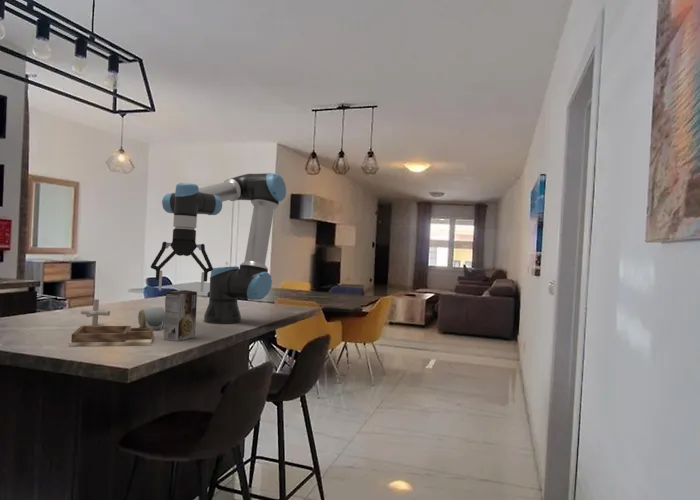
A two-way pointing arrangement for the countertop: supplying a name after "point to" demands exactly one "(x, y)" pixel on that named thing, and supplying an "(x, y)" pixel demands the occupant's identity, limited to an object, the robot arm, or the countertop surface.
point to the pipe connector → (95, 312)
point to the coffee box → (180, 315)
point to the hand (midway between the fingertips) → (181, 290)
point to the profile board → (111, 336)
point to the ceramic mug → (152, 318)
